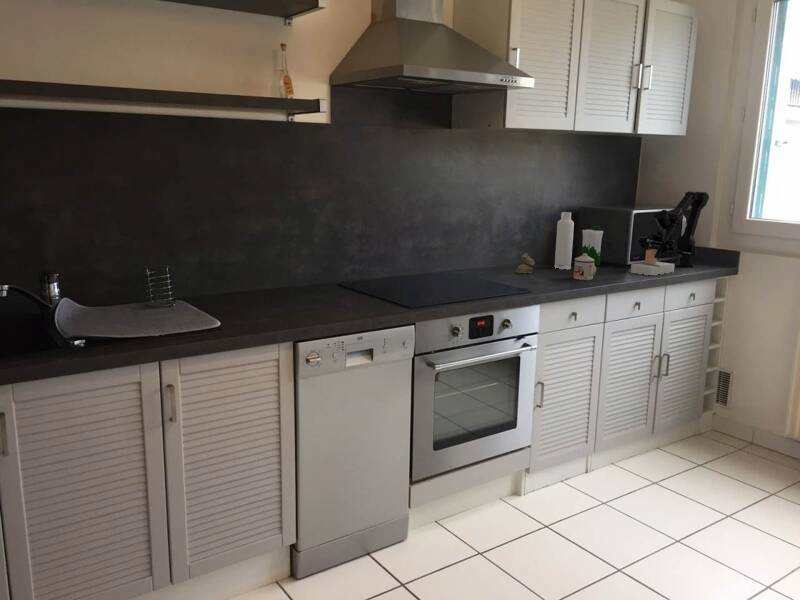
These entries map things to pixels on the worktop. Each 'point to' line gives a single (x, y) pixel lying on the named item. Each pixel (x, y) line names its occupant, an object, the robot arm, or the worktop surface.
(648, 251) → the tan upright block
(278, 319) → the worktop surface
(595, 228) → the white green tumbler
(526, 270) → the chocolate bunny
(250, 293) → the worktop surface
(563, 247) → the bottle
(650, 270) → the white flat block
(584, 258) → the teacup with lid
